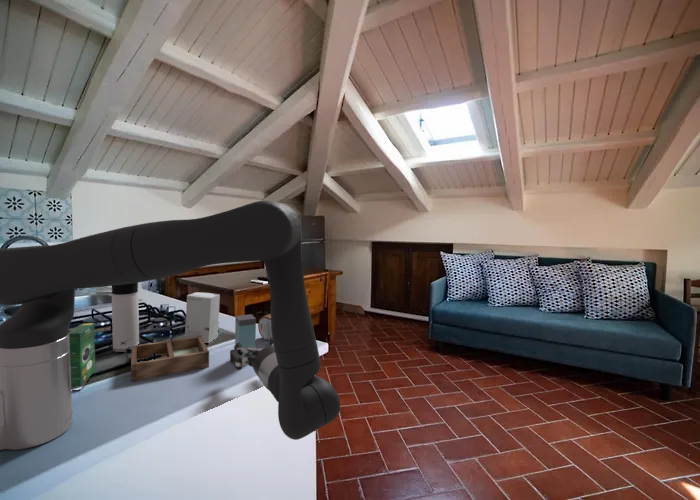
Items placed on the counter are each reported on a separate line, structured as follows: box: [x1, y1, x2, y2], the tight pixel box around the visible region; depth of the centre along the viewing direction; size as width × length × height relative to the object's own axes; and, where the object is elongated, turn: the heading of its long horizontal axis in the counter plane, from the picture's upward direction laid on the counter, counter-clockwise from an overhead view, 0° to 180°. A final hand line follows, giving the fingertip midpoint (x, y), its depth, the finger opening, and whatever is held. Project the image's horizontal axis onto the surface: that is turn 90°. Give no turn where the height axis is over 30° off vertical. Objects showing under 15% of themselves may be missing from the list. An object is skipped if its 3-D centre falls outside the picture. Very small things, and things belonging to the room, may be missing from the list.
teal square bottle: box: [234, 314, 257, 356], centre depth 91 cm, size 4×4×12 cm
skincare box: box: [184, 291, 221, 344], centre depth 103 cm, size 8×6×15 cm
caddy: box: [130, 336, 210, 382], centre depth 86 cm, size 17×13×4 cm
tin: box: [257, 313, 272, 342], centre depth 104 cm, size 15×3×8 cm, turn 58°
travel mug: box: [111, 282, 140, 353], centre depth 93 cm, size 6×7×20 cm
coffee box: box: [69, 322, 96, 387], centre depth 74 cm, size 8×3×13 cm, turn 19°
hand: (254, 343), depth 83 cm, fingers open, 8 cm apart
